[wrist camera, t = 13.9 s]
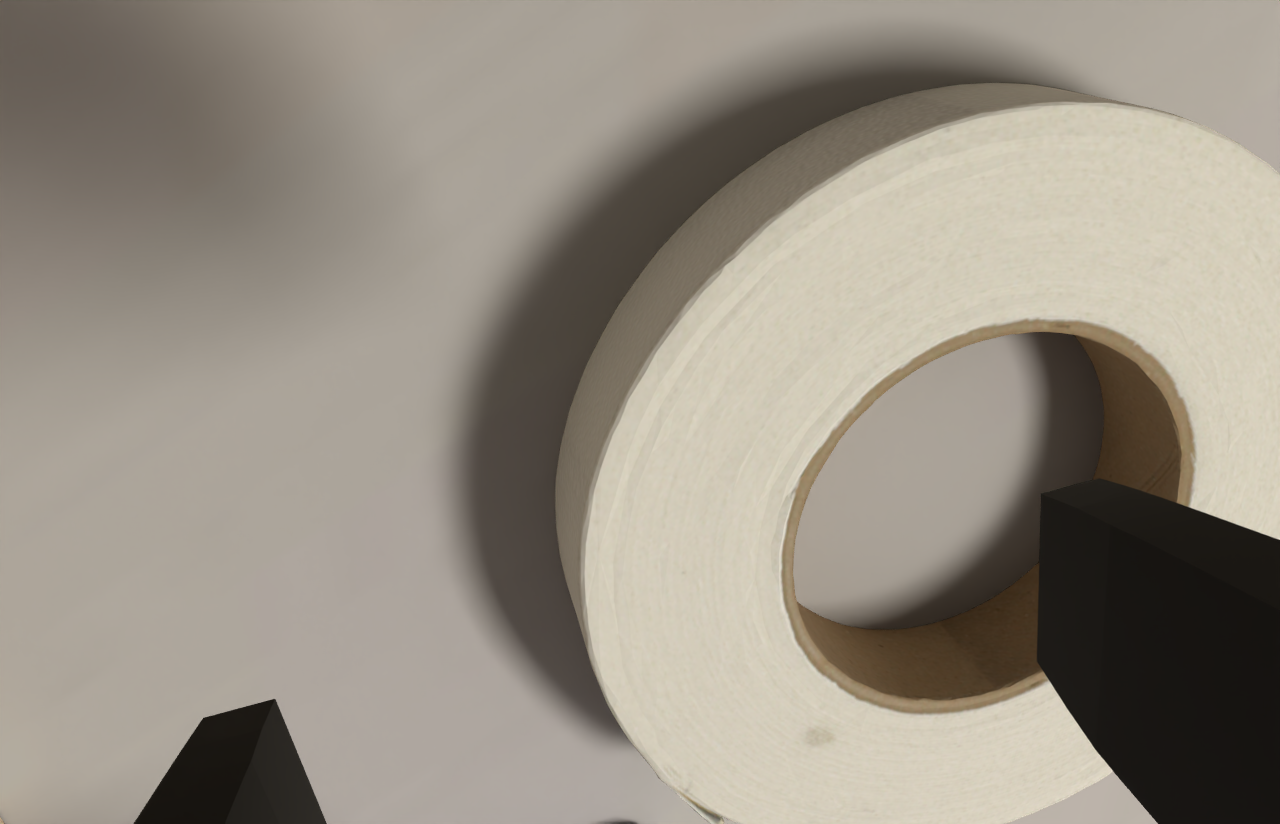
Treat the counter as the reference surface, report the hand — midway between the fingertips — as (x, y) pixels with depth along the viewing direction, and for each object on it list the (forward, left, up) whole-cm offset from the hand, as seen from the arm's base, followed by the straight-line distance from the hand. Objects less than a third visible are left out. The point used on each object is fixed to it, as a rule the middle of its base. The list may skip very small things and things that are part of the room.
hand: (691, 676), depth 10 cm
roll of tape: (-5, -7, -10) cm, 13 cm away
